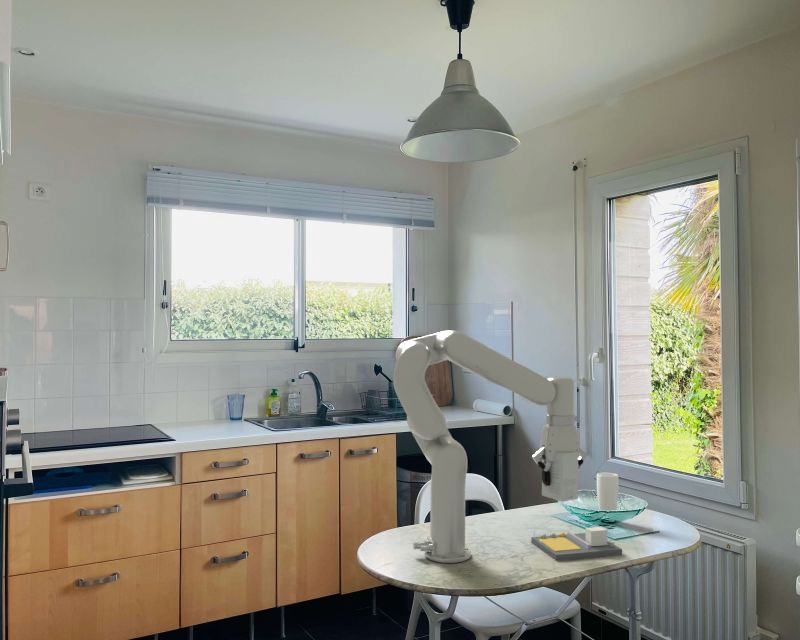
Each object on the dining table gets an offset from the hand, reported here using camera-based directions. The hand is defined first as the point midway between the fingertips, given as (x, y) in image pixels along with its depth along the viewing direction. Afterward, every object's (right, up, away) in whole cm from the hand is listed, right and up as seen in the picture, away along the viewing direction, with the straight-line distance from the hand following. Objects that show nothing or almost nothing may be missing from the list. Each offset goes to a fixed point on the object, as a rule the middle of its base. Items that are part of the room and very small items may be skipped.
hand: (559, 483), depth 186 cm
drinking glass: (+22, -19, +27) cm, 40 cm away
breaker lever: (+10, -17, 0) cm, 20 cm away
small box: (0, -4, 0) cm, 4 cm away
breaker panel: (+5, -19, +1) cm, 19 cm away
